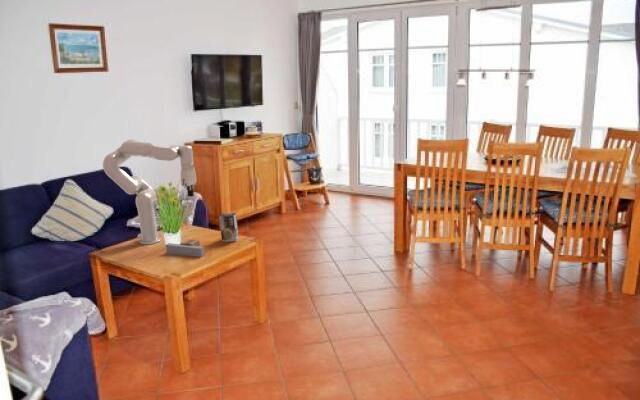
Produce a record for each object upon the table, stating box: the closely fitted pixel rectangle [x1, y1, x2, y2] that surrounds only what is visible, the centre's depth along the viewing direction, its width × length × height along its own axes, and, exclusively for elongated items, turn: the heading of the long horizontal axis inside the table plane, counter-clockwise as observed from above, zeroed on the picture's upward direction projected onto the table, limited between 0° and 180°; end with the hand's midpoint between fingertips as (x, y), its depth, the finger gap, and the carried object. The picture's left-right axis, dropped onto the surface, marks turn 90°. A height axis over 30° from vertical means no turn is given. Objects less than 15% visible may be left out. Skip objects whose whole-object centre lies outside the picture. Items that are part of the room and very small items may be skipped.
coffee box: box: [218, 212, 240, 243], centre depth 325 cm, size 9×6×16 cm
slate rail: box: [165, 242, 205, 258], centre depth 306 cm, size 24×3×5 cm, turn 67°
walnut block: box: [179, 238, 201, 246], centre depth 310 cm, size 8×7×6 cm
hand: (190, 196), depth 326 cm, fingers closed
